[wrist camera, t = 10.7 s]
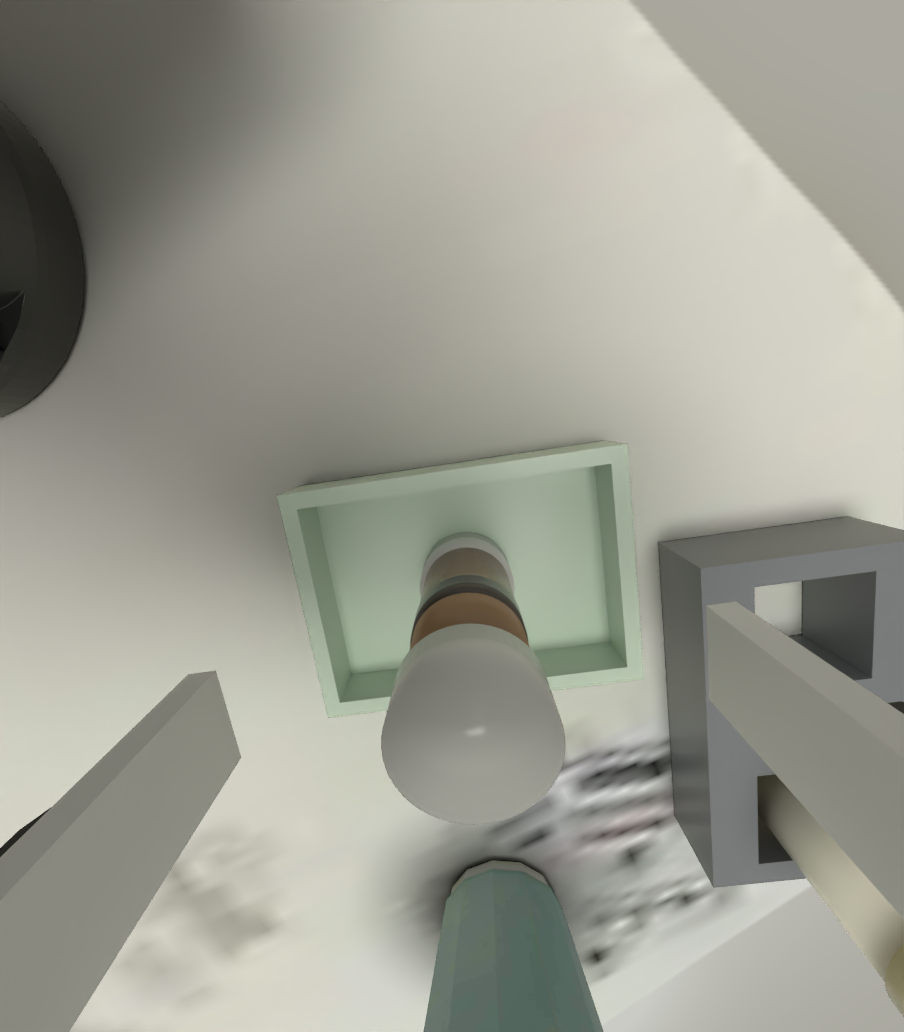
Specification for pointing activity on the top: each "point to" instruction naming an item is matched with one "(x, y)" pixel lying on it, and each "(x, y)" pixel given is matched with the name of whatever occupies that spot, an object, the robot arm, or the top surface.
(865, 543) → the grey rectangular block
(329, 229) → the top surface
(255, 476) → the top surface
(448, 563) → the cylinder
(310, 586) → the parts tray
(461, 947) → the disposable coffee cup
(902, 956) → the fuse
